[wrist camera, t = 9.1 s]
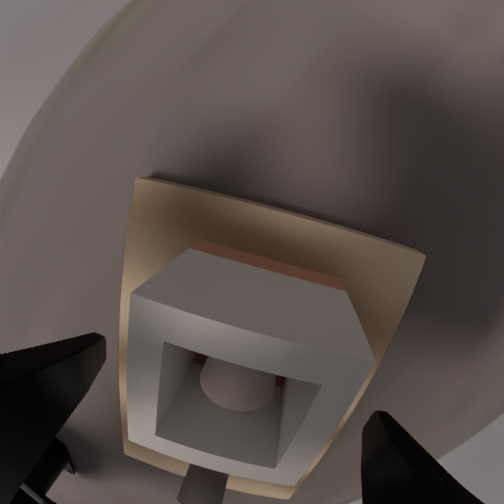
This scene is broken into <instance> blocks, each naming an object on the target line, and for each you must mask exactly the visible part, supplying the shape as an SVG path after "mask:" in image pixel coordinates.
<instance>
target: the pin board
mask: <svg viewBox="0 0 504 504" xmlns="http://www.w3.org/2000/svg"><path fill="white" fill-rule="evenodd" d="M200 240H204V241H207V242H211V243H215V244H218V245H222V246H225V247H229V248H233V249H236V250H240V251H243V252H247V253H251V254H254V255H258V256H262V257H265V258H269V259H272V260H276V261H280V262H283V263H287V264H291V265H294V266H298V267H301V268H305V269H309V270H312V271H316V272H320V273H323V274H327V275H330V276H334V277H338V278H340V279H341V281H342V283H343V285H344V287H345V290H346V292H347V294H348V296H349V299H350V301H351V303H352V305H353V308H354V310H355V312H356V314H357V317H358V319H359V321H360V324H361V326H362V328H363V331H364V333H365V336H366V338H367V340H368V343H369V345H370V348H371V350H372V353H373V355H374V358H375V360H376V361H375V363H374V365H373V366H372V368H371V370H370V372H369V374H368V376H367V378H366V379H365V381H364V383H363V385H362V387H361V388H360V390H359V392H358V394H357V395H356V397H355V399H354V400H353V402H352V404H351V405H350V407H349V409H348V410H347V412H346V414H345V415H344V417H343V418H342V420H341V422H340V423H339V425H338V426H337V428H336V429H335V431H334V432H333V434H332V435H331V437H330V438H329V440H328V441H327V443H326V444H325V446H324V447H323V448H322V450H321V451H320V453H319V454H318V455H317V457H316V458H315V460H314V461H313V462H312V464H311V465H310V466H309V468H308V469H307V470H306V472H305V473H304V474H303V476H302V477H301V478H300V479H299V481H298V482H297V483H296V484H295V486H288V485H281V484H275V483H269V482H263V481H258V480H253V479H248V478H244V477H239V476H235V475H231V474H227V473H223V472H219V471H215V470H211V469H208V468H204V467H201V466H198V465H194V464H191V463H188V462H185V461H182V460H179V459H176V458H173V457H170V456H168V455H165V454H162V453H159V452H157V451H154V450H152V449H149V448H147V447H144V446H142V445H139V444H137V443H135V442H132V441H130V440H128V423H127V342H128V322H129V307H130V295H131V292H132V291H134V290H135V289H136V288H137V287H139V286H140V285H141V284H143V283H144V282H145V281H147V280H148V279H149V278H150V277H152V276H153V275H154V274H156V273H157V272H158V271H160V270H161V269H162V268H163V267H165V266H166V265H167V264H169V263H170V262H171V261H173V260H174V259H175V258H177V257H178V256H179V255H181V254H182V253H183V252H185V251H186V250H187V249H189V248H190V247H191V246H193V245H194V244H195V243H197V242H198V241H200ZM425 259H426V255H424V254H423V253H421V252H420V251H418V250H417V249H414V248H411V247H408V246H405V245H402V244H399V243H396V242H393V241H389V240H386V239H383V238H380V237H377V236H374V235H370V234H367V233H364V232H361V231H357V230H354V229H351V228H347V227H344V226H341V225H337V224H334V223H330V222H327V221H324V220H320V219H317V218H313V217H310V216H306V215H302V214H299V213H295V212H291V211H288V210H284V209H280V208H277V207H273V206H269V205H265V204H262V203H258V202H254V201H250V200H246V199H242V198H238V197H234V196H230V195H226V194H222V193H218V192H213V191H209V190H205V189H201V188H196V187H192V186H188V185H183V184H179V183H174V182H170V181H165V180H161V179H156V178H151V177H136V180H135V185H134V191H133V197H132V203H131V210H130V216H129V223H128V231H127V239H126V247H125V256H124V266H123V277H122V290H121V306H120V329H119V387H120V410H121V425H122V437H123V447H124V454H126V455H128V456H131V457H133V458H135V459H138V460H140V461H142V462H145V463H147V464H150V465H153V466H155V467H158V468H161V469H163V470H166V471H169V472H172V473H175V474H178V475H181V476H184V477H185V478H184V481H183V484H182V487H181V489H180V492H179V495H178V497H177V499H178V501H179V502H180V503H181V504H222V501H223V497H224V493H225V489H226V488H227V489H231V490H235V491H240V492H245V493H250V494H255V495H260V496H266V497H273V498H279V499H287V500H288V499H289V498H290V497H291V496H292V495H293V493H294V492H295V491H296V490H297V489H298V487H299V486H300V485H301V484H302V482H303V481H304V480H305V479H306V477H307V476H308V475H309V474H310V472H311V471H312V470H313V468H314V467H315V466H316V464H317V463H318V462H319V460H320V459H321V458H322V456H323V455H324V454H325V452H326V451H327V449H328V448H329V446H330V445H331V444H332V442H333V441H334V439H335V438H336V436H337V435H338V433H339V432H340V430H341V429H342V427H343V426H344V424H345V423H346V421H347V420H348V418H349V416H350V415H351V413H352V412H353V410H354V408H355V407H356V405H357V403H358V402H359V400H360V398H361V397H362V395H363V393H364V392H365V390H366V388H367V386H368V385H369V383H370V381H371V379H372V377H373V376H374V374H375V372H376V370H377V368H378V366H379V364H380V362H381V361H382V359H383V357H384V355H385V353H386V351H387V349H388V347H389V345H390V343H391V341H392V338H393V336H394V334H395V332H396V330H397V328H398V326H399V323H400V321H401V319H402V317H403V315H404V312H405V310H406V308H407V305H408V303H409V300H410V298H411V296H412V293H413V291H414V288H415V286H416V283H417V281H418V278H419V275H420V273H421V270H422V267H423V264H424V262H425ZM275 379H276V375H275V374H271V373H267V372H263V371H259V370H256V369H252V368H248V367H244V366H241V365H237V364H234V363H230V362H227V361H223V360H220V359H217V358H213V357H210V356H208V358H207V360H206V362H205V364H204V367H203V369H202V371H201V374H200V384H201V387H202V390H203V391H204V393H205V394H206V396H207V397H208V398H209V399H210V400H211V401H213V402H214V403H215V404H217V405H219V406H221V407H223V408H225V409H229V410H233V411H252V410H256V409H258V408H261V407H262V406H264V405H265V404H267V403H268V402H269V401H270V399H271V398H272V396H273V394H274V389H275Z"/></svg>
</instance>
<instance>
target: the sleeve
mask: <svg viewBox="0 0 504 504" xmlns="http://www.w3.org/2000/svg"><path fill="white" fill-rule="evenodd" d="M208 356H210V357H213V358H217V359H220V360H223V361H227V362H230V363H234V364H237V365H241V366H244V367H248V368H252V369H256V370H259V371H263V372H267V373H271V374H275V375H276V379H275V389H274V394H273V396H272V398H271V399H270V401H269V402H268V403H267V404H265V405H264V406H262V407H261V408H258V409H256V410H252V411H233V410H229V409H225V408H223V407H221V406H219V405H217V404H215V403H214V402H213V401H211V400H210V399H209V398H208V397H207V396H206V394H205V393H204V391H203V390H202V387H201V384H200V374H201V371H202V369H203V367H204V364H205V362H206V360H207V358H208ZM375 361H376V360H375V358H374V355H373V353H372V350H371V348H370V345H369V343H368V340H367V338H366V336H365V333H364V331H363V328H362V326H361V324H360V321H359V319H358V317H357V314H356V312H355V310H354V308H353V305H352V303H351V301H350V299H349V296H348V294H347V292H346V290H345V287H344V285H343V283H342V281H341V279H340V278H338V277H334V276H330V275H327V274H323V273H320V272H316V271H312V270H309V269H305V268H301V267H298V266H294V265H291V264H287V263H283V262H280V261H276V260H272V259H269V258H265V257H262V256H258V255H254V254H251V253H247V252H243V251H240V250H236V249H233V248H229V247H225V246H222V245H218V244H215V243H211V242H207V241H204V240H200V241H198V242H197V243H195V244H194V245H193V246H191V247H190V248H189V249H187V250H186V251H185V252H183V253H182V254H181V255H179V256H178V257H177V258H175V259H174V260H173V261H171V262H170V263H169V264H167V265H166V266H165V267H163V268H162V269H161V270H160V271H158V272H157V273H156V274H154V275H153V276H152V277H150V278H149V279H148V280H147V281H145V282H144V283H143V284H141V285H140V286H139V287H137V288H136V289H135V290H134V291H132V292H131V295H130V307H129V322H128V342H127V423H128V440H130V441H132V442H135V443H137V444H139V445H142V446H144V447H147V448H149V449H152V450H154V451H157V452H159V453H162V454H165V455H168V456H170V457H173V458H176V459H179V460H182V461H185V462H188V463H191V464H194V465H198V466H201V467H204V468H208V469H211V470H215V471H219V472H223V473H227V474H231V475H235V476H239V477H244V478H248V479H253V480H258V481H263V482H269V483H275V484H281V485H288V486H295V484H296V483H297V482H298V481H299V479H300V478H301V477H302V476H303V474H304V473H305V472H306V470H307V469H308V468H309V466H310V465H311V464H312V462H313V461H314V460H315V458H316V457H317V455H318V454H319V453H320V451H321V450H322V448H323V447H324V446H325V444H326V443H327V441H328V440H329V438H330V437H331V435H332V434H333V432H334V431H335V429H336V428H337V426H338V425H339V423H340V422H341V420H342V418H343V417H344V415H345V414H346V412H347V410H348V409H349V407H350V405H351V404H352V402H353V400H354V399H355V397H356V395H357V394H358V392H359V390H360V388H361V387H362V385H363V383H364V381H365V379H366V378H367V376H368V374H369V372H370V370H371V368H372V366H373V365H374V363H375Z"/></svg>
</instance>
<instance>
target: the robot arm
mask: <svg viewBox="0 0 504 504" xmlns="http://www.w3.org/2000/svg"><path fill="white" fill-rule="evenodd" d="M105 360H106V338H105V337H104V336H103V335H100V334H98V333H95V332H93V333H89V334H85V335H81V336H77V337H73V338H69V339H65V340H61V341H57V342H52V343H48V344H44V345H40V346H35V347H31V348H27V349H22V350H18V351H13V352H9V353H8V354H7V353H4V354H0V504H39V503H40V504H56V503H55V502H53V501H52V500H50V499H49V498H48V497H47V496H45V495H46V493H47V492H48V491H49V489H50V488H51V486H52V485H53V483H54V482H55V481H56V479H57V478H58V476H59V475H60V474H61V472H62V471H63V469H64V470H66V471H68V472H69V473H71V474H73V475H74V474H75V470H74V467H73V465H72V462H71V460H70V457H69V454H68V452H67V449H66V447H65V446H64V445H63V444H61V443H60V442H58V441H57V440H55V439H54V437H55V436H56V434H57V433H58V432H59V430H60V429H61V427H62V426H63V425H64V423H65V422H66V421H67V419H68V418H69V416H70V415H71V414H72V412H73V411H74V410H75V408H76V407H77V406H78V404H79V403H80V402H81V400H82V399H83V398H84V396H85V395H86V393H87V392H88V390H89V388H90V387H91V385H92V383H93V381H94V380H95V378H96V376H97V374H98V373H99V371H100V369H101V368H102V366H103V364H104V363H105ZM361 483H362V503H363V504H484V503H483V502H482V501H480V500H479V499H478V498H477V497H475V496H474V495H473V494H471V493H470V492H469V491H468V490H467V489H465V488H464V487H463V486H462V485H461V484H460V483H458V481H457V480H455V479H454V478H453V477H452V476H451V475H450V474H449V473H447V471H446V470H445V469H444V468H443V467H442V466H441V465H440V464H439V463H438V462H437V461H436V460H435V459H434V458H433V457H432V456H431V455H430V454H429V453H428V452H427V451H426V450H425V449H424V448H423V447H422V446H421V445H420V444H419V443H418V442H417V441H416V440H415V439H414V438H413V437H412V436H411V435H410V434H409V433H408V432H407V431H406V430H405V429H404V428H403V427H402V426H401V425H400V424H399V423H398V422H397V421H396V420H395V419H394V418H393V417H392V416H391V415H390V414H389V413H388V412H386V411H375V412H374V413H373V414H372V415H371V417H370V418H369V420H368V421H367V423H366V424H365V426H364V428H363V431H362V453H361ZM20 487H21V488H20ZM23 489H24V490H25V491H26V492H27V493H28V494H27V493H26V492H25V491H24V490H23ZM31 496H32V497H33V498H34V499H35V500H34V499H33V498H32V497H31ZM37 501H38V502H39V503H38V502H37Z"/></svg>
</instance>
